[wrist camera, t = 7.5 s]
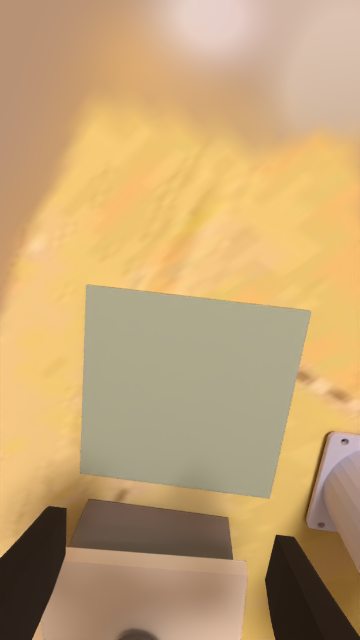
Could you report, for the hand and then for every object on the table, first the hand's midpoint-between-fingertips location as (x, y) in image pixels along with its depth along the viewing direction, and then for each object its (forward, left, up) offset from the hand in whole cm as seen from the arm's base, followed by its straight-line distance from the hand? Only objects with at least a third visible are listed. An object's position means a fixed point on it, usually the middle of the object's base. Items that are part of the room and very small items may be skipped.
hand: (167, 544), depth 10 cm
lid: (+1, +14, -6) cm, 16 cm away
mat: (0, 0, -10) cm, 10 cm away
